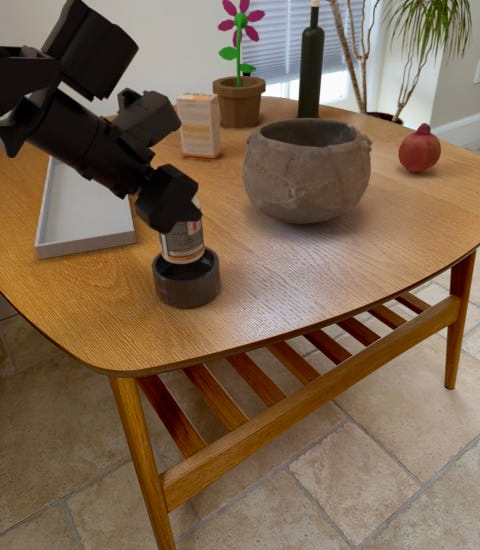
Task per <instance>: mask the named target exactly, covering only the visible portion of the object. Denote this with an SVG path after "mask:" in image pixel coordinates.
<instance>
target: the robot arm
mask: <svg viewBox="0 0 480 550" xmlns="http://www.w3.org/2000/svg"><path fill="white" fill-rule="evenodd" d="M139 50H140V47H139V45H138V44H137V42H136V41H135V40H134V39H133V38H132V37H131V35H130V34H128V33H127V32H126V31H125V29H123V28H122V27H121V26H120V25H118V24H117V23H112V21H110V20H109V19H108V18H107V17H105V16H104V15H103V14H101V13H99V12H98V11H97V10H95V9H93V8H92V7H90V6H89V5H87V3H85V1H83V0H66V1H65V3H64V4H63V6H62V8H61V11H60V15H59V18H58V19H57V21H56V23H55V24H54V25H53V28H52V29H51V30H50V33H49V34H48V36H47V38H46V39H45V41H44V42H43V44H42V46H41V48H40V50H39V49H38V48H35V47H34V46H27V45H25V44H23V45H22V46H15V45H14V46H13V45H0V118H2V117H4V116H5V115H6V114H8V113H9V114H8V116H7V117H6V118H4V119H1V120H0V148H1V149H2V151H3V152H4V153H5V155H6V156H7V157H8V158H9V159H14V158H16V157H17V155H18V154H19V152H20V151H21V149H22V147H23V145H24V144H25V143H27V144H29V145H30V146H31V145H32V146H33V147H35V148H36V149H38V150H39V151H42V152H44V153H45V154H47V155H49V157H50V156H52V157H54V158H56V159H57V160H59V161H61V162H63V163H64V164H66V165H68V166H69V167H71V168H73V169H75V170H76V171H77V172H78V173H79V174H80V175H81V176H82V177H83V178H85V179H87V180H89V181H91V180H94V181H96V182H97V183H99V184H101V185H103V186H104V187H106V188H108V189H110V191H111V192H112V193H113V194H114V195H115V196H117V197H118V198H120V199H122V200H124V198H125V197H126V195H127V194H128V196H134V197H136V199H135V201H134V203H133V204H134V210H135V215H136V216H137V217H138V218H139V219H140V220H142V221H143V222H144V223H145V224H146V225H147V226H148V228H150V229H152V230H154V231H156V232H157V233H158V232H159V233H161V234H163V235H165V234H168V233H170V231H171V230H172V228H173V227H174V225H175V224H176V222H198V221H199V220H200V219H201V218H203V216H204V214H203V212H202V210H201V211H200V210H199V209H198V208H197V207H196V205H195V204H194V203H193V202H192V201H191V200H192V199H193V197H194V196H195V197H196V194H197V192H199V182H197V181H196V180H195V179H194V178H192V177H190V176H189V175H187V174H186V173H185V172H183V171H182V170H181V169H179V168H178V167H176V166H174V165H173V164H171V163H170V162H169V163H166V164H163V165H162V164H161V165H158V166H157V167H156V168H154V167H153V166H152V164H151V162H152V161H153V160H154V158H155V156H156V155H157V153H156V152H155V151H153V150H152V149H150V148H153V147H155V146H157V144H159V143H160V142H161V141H163V140H164V139H165V138H166V137H168V136H169V135H170V134H172V133H174V132H175V133H176V132H177V131H178V130H180V127H181V125H182V122H181V120H180V118H179V117H178V112H177V111H176V109H175V108H174V106H173V104H172V102H171V100H170V99H169V97H168V96H167V95H165V94H163V93H160V92H159V91H156V90H146V89H144V90H143V91H142V94H141V93H139V92H137V91H135V90H134V89H131V88H130V87H125V88H124V89H123V90H121V91H119V92H118V93H117V94H116V97H117V98H116V99H117V105H118V110H117V111H116V113H117V115H116V116H115V117H114V119H112V120H111V121H110V120H109V119H107V117H105V116H103V115H102V114H101V115H99V116H98V115H97V114H96V113H94V112H93V111H91V110H90V109H89V108H88V107H86V106H84V105H83V104H82V103H81V102H79V101H77V100H76V99H75V98H73V97H72V96H70V95H69V94H67V93H66V92H64V90H62V89H61V88H60V87H59V86H60V85H61V83H63V84H65V86H67V87H68V88H70V89H71V90H73V91H74V92H75V93H77V94H78V95H79V96H81V98H83V99H85V100H87V101H88V102H90V103H93V101H94V100H95V98H96V99H97V100H99V101H100V102H102V101H103V100H104V99H105V100H109V98H110V97H111V95H112V93H113V92H114V91H115V89H116V87H117V85H118V84H119V82H120V81H121V79H122V78H123V76H124V75H125V72H126V71H127V70H128V68H129V66H130V65H131V63H132V61H133V60H134V59H135V57H136V55H137V54H138V52H139ZM27 95H29V96H27Z"/></svg>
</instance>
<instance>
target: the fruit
mask: <svg viewBox="0 0 480 550" xmlns="http://www.w3.org/2000/svg"><path fill="white" fill-rule="evenodd" d="M431 131H432V130H431V126H430V125H429V124H428V123H426V122H423V123H421V124H420V125H419V127H417V129H416V131H415V132H412V133H409V134H408V135H407V136H406V137H405V138H404V139H403V140H402V141H401V144H400V145H399V148H398V153H397V154H398V156H397V157H398V160H399V163H400V164H401V166H402V167H404V169H406V170H407V171H409V172H411V173H418V172H422V171H426V170H428V169H430V168H432V167H434V166H435V165H436V164H437V163H438V161H439V160H440V159H441V154H442V146H441V145H442V144H441V142H440V140H439V138H438V136H437V135H435V134H433V133H432V132H431Z"/></svg>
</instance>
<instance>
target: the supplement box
mask: <svg viewBox="0 0 480 550" xmlns="http://www.w3.org/2000/svg"><path fill="white" fill-rule="evenodd" d="M175 100H176V107H177V115H178V117H179V118H180V120H181V122H182V125H181V127H180V128H179V134H180V142H181V150H182V156H184V157H195V158H205V159H216V158H217V157H218V156H219V155H220V154H221V153H222V138H221V137H222V136H221V121H220V108H219V103H218V94H214V93H201V92H199V93H198V92H183V93H182V94H180V95H179V96H177V97H176V98H175Z"/></svg>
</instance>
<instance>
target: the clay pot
mask: <svg viewBox="0 0 480 550" xmlns="http://www.w3.org/2000/svg"><path fill="white" fill-rule="evenodd" d="M246 144H247V149H246V152H245V155H244V159H243V163H242V175H241V176H242V182H243V187H244V189H245V193H246V195H247V197H248V199H249V201H250V202H251V204H253V206H254V207H255V208H256V209H258V210H259V211H260V212H262V213H263V214H265V215H266V216H267V217H270V218H273V219H275V220H278V221H281V222H286V223H289V224H291V223H292V224H300V225H301V224H315V223H321V222H326V221H328V220H332V219H334V218H336V217H339V216H342V215H344V214H345V213H347V212H348V211H350V210H351V209H352V208H354V207H355V206H356V205H357V204H358V203H359V202H360V201H361V199H362V197H363V196H364V194H365V193H366V191H367V188H368V186H369V183H370V179H371V174H372V164H371V161H372V159H371V152H372V150H373V148H372V145H373V141H372V140H371V139H370V138H369V137H368V135H366V134H364V133H363V134H362V132H361V131H359V130H358V129H357V127H356V126H355V125H350V124H349V123H348V122H345V121H342V120H336V119H329V118H320V117H318V118H287V119H286V118H285V119H280V120H275V121H271V122H267V123H265V124H263V125H260V126H259V127H258V129H253V130H252V131H251V132H250V134H249V135H248V137H247V138H246Z"/></svg>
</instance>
